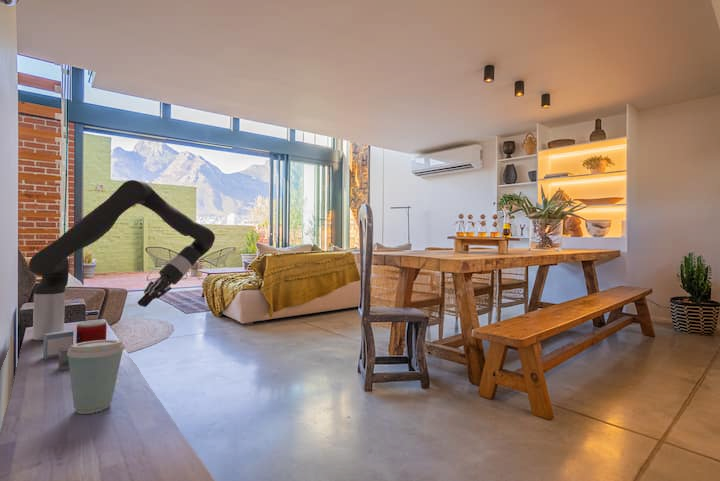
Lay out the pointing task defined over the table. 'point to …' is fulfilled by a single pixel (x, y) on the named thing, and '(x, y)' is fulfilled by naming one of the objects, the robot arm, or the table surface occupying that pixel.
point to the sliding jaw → (56, 343)
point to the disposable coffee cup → (94, 373)
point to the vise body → (63, 360)
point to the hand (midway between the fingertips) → (141, 305)
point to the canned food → (91, 331)
